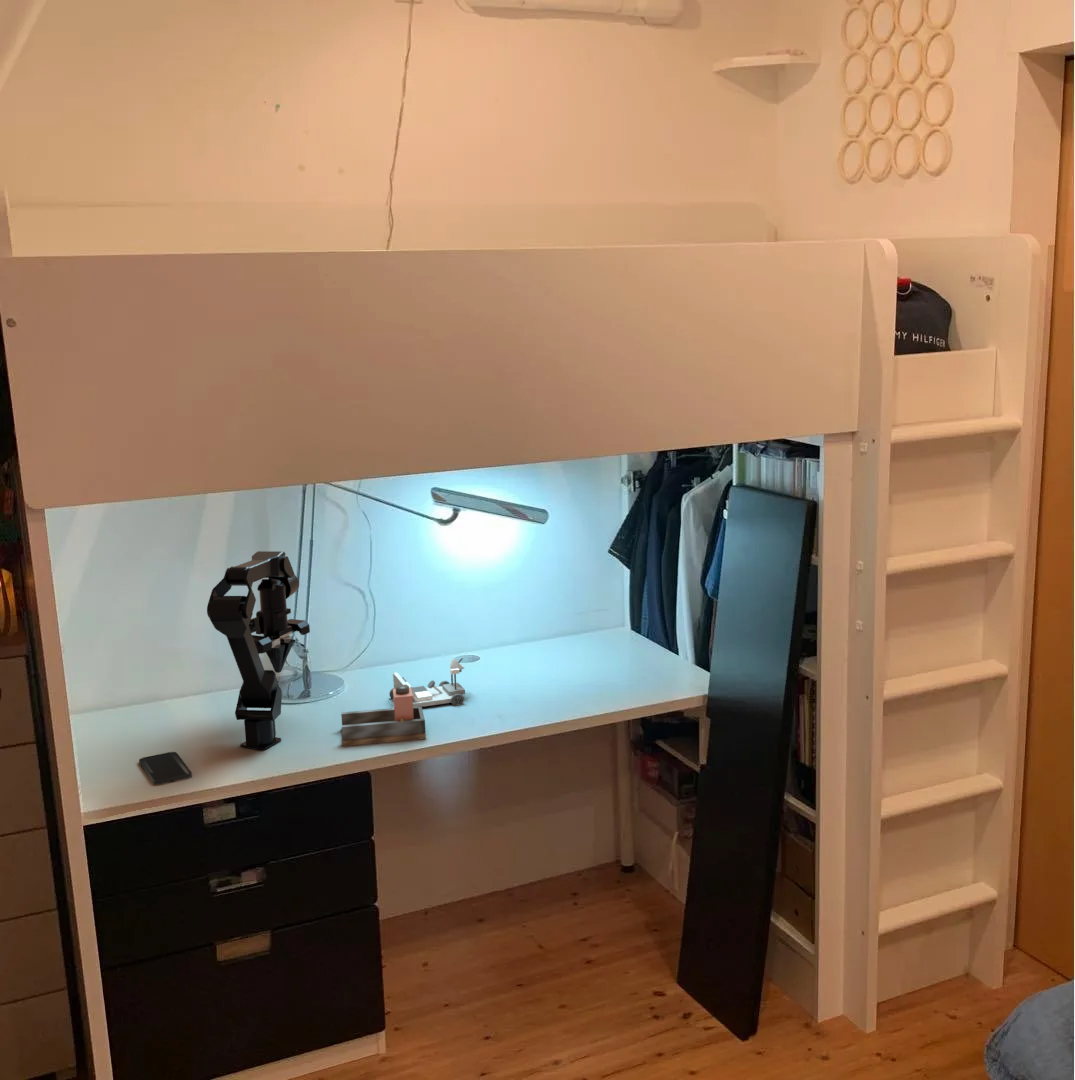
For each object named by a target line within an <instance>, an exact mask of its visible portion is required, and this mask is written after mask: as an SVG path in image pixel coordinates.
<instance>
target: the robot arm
mask: <svg viewBox="0 0 1075 1080" xmlns="http://www.w3.org/2000/svg"><path fill="white" fill-rule="evenodd" d="M260 580H261V582H260V583H259V584H258V585H257V591H258V592H259V603H260V607H259V608H260V610H258V611H256V613H255V617H253V614H254V613H253V612H254V608H255V605H256V602H257V597H256V596H255V594H254V591H253V589H252V587H253V584H254V583H255V582H258V581H260ZM233 586H234V587H237V586H238V587H240V586H241V587H242V586H243V587H246V586H247V589H248V592H247V595H246V596H245V595H227V593H228V592H229V591H230V590H232V587H233ZM299 587H300V581H299V579H298V577H297V575H296V574H295V571H294V569H293V566H292V564H291V561H290V559H289V557H288V556H287V555H286V552H285V551H279V550H277V551H276V550H275V551H273V550H271V551H266V550H265V551H264V550H263V551H261V550H260V551H259V550H258V551H256V552H255V553H253V555H252V556H251V560H249V561H246V562H243V563H241V564H237V565H235V566H230V567H227V568H226V570H225V571H224V576H223V578H222V579H221V580H220V581H219V582H218V583H217V584H216V585H215V586H214V587H213V588H212V590H211V592H210V596H209V599H208V602H207V605H206V613H207V614H206V615H207V617H208V618H209V620H210V622H211V624H212V626H213V627H214V629H215V630H217V631H218V632H219V633H221V634H223V635H224V636H225V637H226V639H227V642H228V645H229V646H230V649H231V652H232V655H233V658H234V660H235V663H236V665H237V668H238V671H239V674H240V677H241V679H242V683H241V685H240V686H241V687H240V689H239V693H238V698H237V703H236V707H235V712H234V715H235V718H236V720H237V721H240V720H242V721H243V722H244V724H243V725H244V738H245V741H243V742H241V743H240V744H239V745H240V747H241V748H247V749H255V750H260V751H264V750H265V751H266V750H267V749H269V748H270V747H272V746H274V745H277V744H278V743H279V742H281V741H282V738H281V737H278V736H277V735H276V732H277V731H276V719H277V718H278V717H279V716H280V715H282V699H283V698H282V696H283V691H282V688H281V686H280V685H279V680H278V679H277V676H276V675H277V674H276V673H281V672H282V671H283V668H284V665H285V663H286V660H287V658H288V656H289V654H290V652H291V650H292V647H293V645H294V643H296V639H292V638H291V634H293V633H296V632H298V633H299V634H300V635H301V636H304V635H307V634H309V633H311V631H310V624H309V623H308V621H307V620H304V619H294V618H290V619H288V615H290V614H291V613H292V609H291V608H288V607H287V599H288V598H290V597H291V596H293V595H294V594H295V593H296V592H297V591H298V590H299ZM252 617H253V618H252ZM253 633H255V635H254V634H253ZM265 653H266V655H267V657H268V659H269V661H270V664H271V666H272V668H273V670H272V669H265V668H264V665H263V662H262V660H261V656H260V654H265ZM255 709H256V710H255ZM262 709H263V710H262ZM265 709H266V710H265ZM267 709H269V710H267Z"/></svg>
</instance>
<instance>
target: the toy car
mask: <svg viewBox="0 0 1075 1080" xmlns="http://www.w3.org/2000/svg"><path fill="white" fill-rule="evenodd" d="M463 660H464V658H463V657H461V658H460V659H459V661H457V660H456V659H455V658H454V657H452V658H451V661H450V664H449V665H450V666H449V672H450V682H449V681H447V680H442V681H441V682H440V683H439V684H438V686H436V681H435V680H431V681H429V682H428V684H427V687H425V686H424V685H420V686H413V687H412V685H411V684H410V683H409V682H408V681H407V680H406V679H405V677H404V676H401V675H400V674H399V673H398V672H393V673H392V677H393V679H392V681H393V688H391V689H390V691H389V698H391V700H393V689H396V688H395V687H396V686H399V685H408V686H409V687H411V691H412V696H413V707H414V706H422V708H423V707H429V706H436V705H437V706H438V705H444V704H449V703H451V704H452V705H453V707H455V706H461V705H463V704H464V701H465V700H464V696H463V695H465V694H466V690H465V688H464V687H463V686H462V684H460V683H459V682H457V675H458V674H460V673H462V670H463V669H465V666H463V665H462V664H461V662H462V661H463Z"/></svg>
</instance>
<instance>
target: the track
mask: <svg viewBox="0 0 1075 1080" xmlns="http://www.w3.org/2000/svg"><path fill="white" fill-rule="evenodd" d="M340 714H341V715H340V716H341V733H342V736H341V737H342V746H344V747H345V746H346V747H347V746H355V745H357V746H359V745H368V744H369V745H370V744H379V743H380V744H381V743H390V742H393V743H394V742H401V741H414V740H426V739H427V734H426V720H425V715H424V711H423V707H422V706H414V707H413V717H414V719H412V720H403V718H400V721H394V707H391V708H377V709H368V710H367V709H366V710H354V711H341V713H340Z"/></svg>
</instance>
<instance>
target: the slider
mask: <svg viewBox="0 0 1075 1080" xmlns="http://www.w3.org/2000/svg"><path fill="white" fill-rule="evenodd" d="M411 687H412V686H411ZM411 687H409V686H408V685H399V686H396V687H395V688H396V689H393V688H392V689H393V699H392V700H393V708H394V721H400V718H403V720H412V719H414V717H413V696H412V691H411Z"/></svg>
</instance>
